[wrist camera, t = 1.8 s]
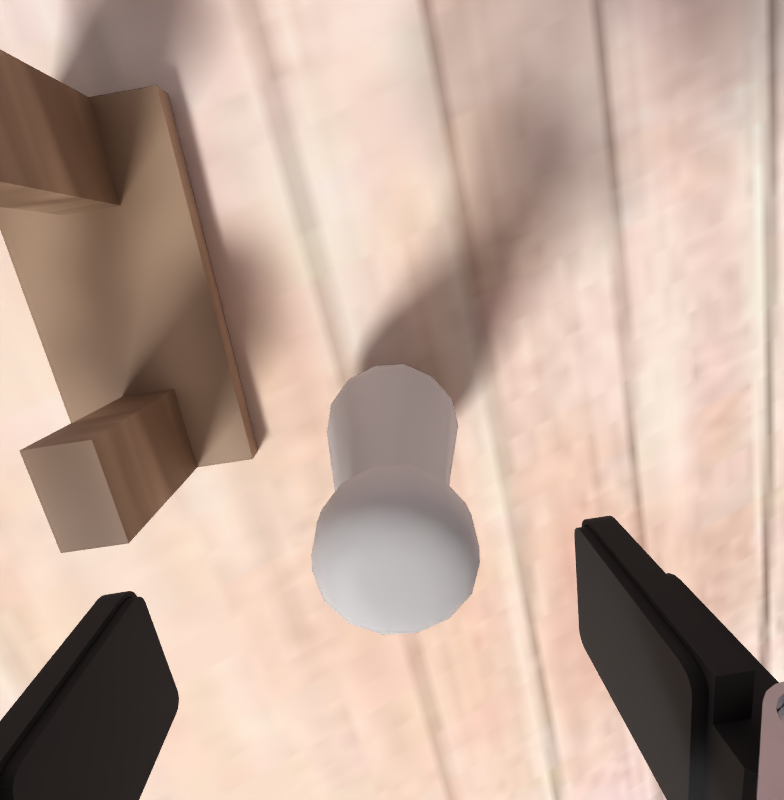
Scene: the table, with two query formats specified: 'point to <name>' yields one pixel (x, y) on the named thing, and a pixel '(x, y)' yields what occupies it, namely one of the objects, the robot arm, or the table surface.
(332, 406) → the salt shaker
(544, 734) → the table surface
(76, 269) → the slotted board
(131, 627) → the robot arm
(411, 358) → the table surface
